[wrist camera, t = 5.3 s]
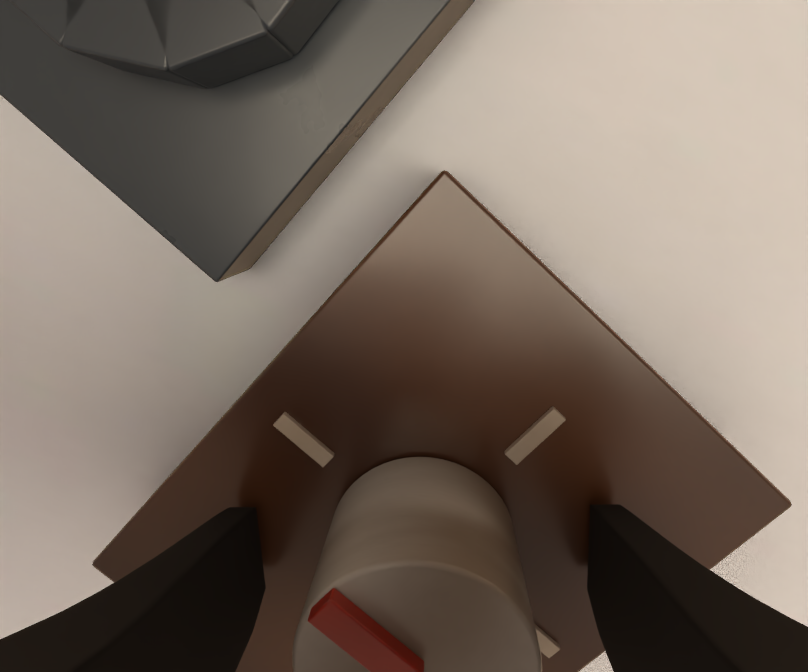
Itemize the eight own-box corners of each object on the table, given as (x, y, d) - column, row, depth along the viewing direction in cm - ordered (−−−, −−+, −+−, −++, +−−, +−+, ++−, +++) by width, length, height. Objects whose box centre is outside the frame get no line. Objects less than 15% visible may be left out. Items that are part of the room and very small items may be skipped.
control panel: (411, 705, 17) (405, 814, 14) (152, 498, 16) (85, 569, 13) (725, 443, 15) (799, 509, 12) (443, 173, 14) (444, 168, 10)
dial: (553, 538, 12) (602, 691, 9) (426, 647, 13) (420, 828, 9) (417, 417, 12) (406, 524, 8) (295, 538, 13) (233, 685, 9)
